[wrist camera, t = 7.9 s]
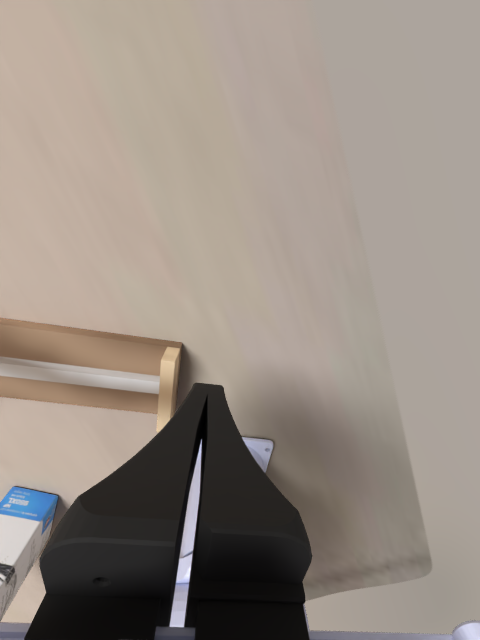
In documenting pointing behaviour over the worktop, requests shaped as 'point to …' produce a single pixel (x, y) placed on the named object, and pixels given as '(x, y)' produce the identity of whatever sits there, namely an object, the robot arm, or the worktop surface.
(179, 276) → the worktop surface
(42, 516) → the ink box
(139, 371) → the rail board
